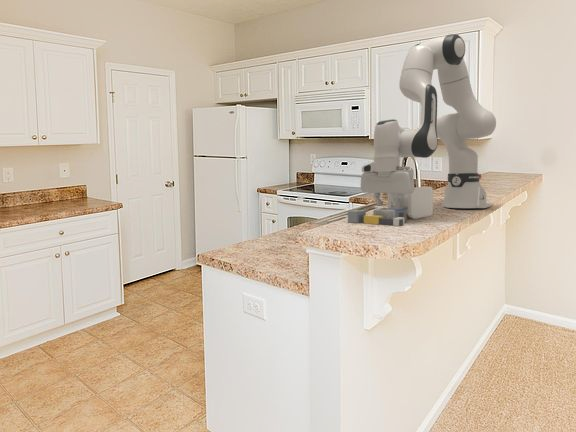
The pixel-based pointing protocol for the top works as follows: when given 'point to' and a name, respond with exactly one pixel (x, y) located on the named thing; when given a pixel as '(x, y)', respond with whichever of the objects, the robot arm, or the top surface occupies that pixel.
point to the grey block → (355, 216)
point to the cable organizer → (415, 202)
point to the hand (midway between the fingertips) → (386, 206)
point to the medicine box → (390, 213)
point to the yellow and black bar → (382, 220)
